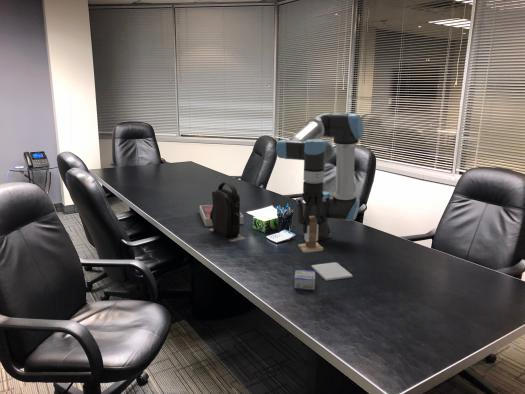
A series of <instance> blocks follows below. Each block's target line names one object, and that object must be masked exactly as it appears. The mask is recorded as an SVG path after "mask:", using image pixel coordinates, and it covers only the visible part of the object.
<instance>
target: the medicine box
mask: <svg viewBox="0 0 525 394" xmlns="http://www.w3.org/2000/svg"><path fill="white" fill-rule="evenodd" d="M294 273H295V274H294V281H293V289H295V290H296V289H297V290H307V291H308V290H310V291H315V290H316V288H315V287H316V271H315V270H305V269H295V272H294Z"/></svg>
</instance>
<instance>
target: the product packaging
mask: <svg viewBox="0 0 525 394" xmlns="http://www.w3.org/2000/svg"><path fill="white" fill-rule="evenodd" d="M212 206H213V204H204V205H199V214H200V216H201V219H202V221H203V223H204V226H205V227H213V223H212V220H211V219H210V213H211V210H212ZM240 225H244V215H243V214H242V213H241V212H240Z"/></svg>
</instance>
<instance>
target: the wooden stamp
mask: <svg viewBox="0 0 525 394" xmlns="http://www.w3.org/2000/svg"><path fill="white" fill-rule="evenodd" d="M308 225H309V226H310V228H309V242H307V241H305V243H298V244H297V247H298V248H299V249H300V250H301V251H302V252H303V253H314V252H320V251H324V247H323V246H322V245H320V244H319V243H318V242H317V241H316V233H317V217H315V216H309V221H308Z"/></svg>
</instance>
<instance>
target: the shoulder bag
mask: <svg viewBox="0 0 525 394" xmlns="http://www.w3.org/2000/svg"><path fill="white" fill-rule="evenodd" d="M225 185H228V187H229V188H230V189H226V188H224V186H225ZM211 197H212V205H213V206H212V210H211V213H210V219H211V220H212V223H213V226H212V228H209V231H211V232H212V233H215V234H216V235H218V236H220V237H221V238H224V239H226V240H227V241H228V242H230V243H231V242H232V243H233V242H236V241H241V240H245V239H246V237H244V236H243V235H241V234H240V230H241V229H240V228H241V227H240V225H241V224H240V213H241V210H240V209H241V208H240V207H241V197H240V194H239V193H238V191H237V188H236V186H235V185H234V184H233V182H229V181H227V182H226V181H223V182H222V183H220V184H219V185H218V188H217V189H216V190H215V191H214V190H213V191H212V192H211Z"/></svg>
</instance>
